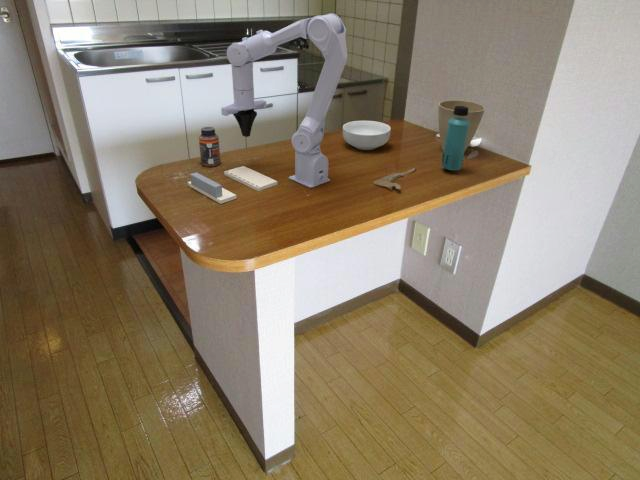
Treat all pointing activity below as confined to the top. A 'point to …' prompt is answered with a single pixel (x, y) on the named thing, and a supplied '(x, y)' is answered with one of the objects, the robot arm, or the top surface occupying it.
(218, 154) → the supplement bottle
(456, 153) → the beverage bottle
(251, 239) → the top surface
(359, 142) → the cereal bowl
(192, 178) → the stub
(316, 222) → the top surface
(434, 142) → the top surface
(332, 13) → the robot arm
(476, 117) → the plant pot
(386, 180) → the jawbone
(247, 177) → the ticket
